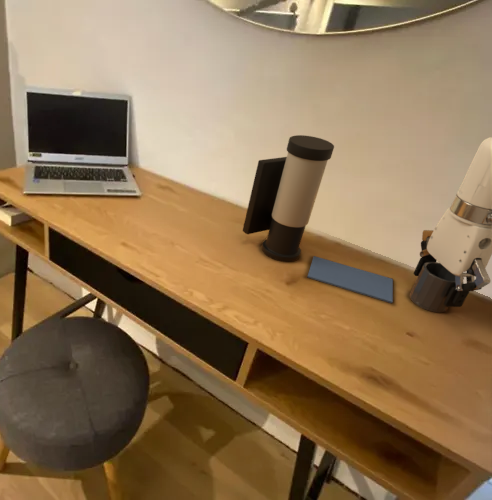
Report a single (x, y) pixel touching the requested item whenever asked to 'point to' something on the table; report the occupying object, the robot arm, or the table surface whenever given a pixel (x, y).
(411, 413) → the table surface
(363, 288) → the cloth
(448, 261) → the robot arm
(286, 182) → the light fixture
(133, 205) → the table surface
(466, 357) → the table surface
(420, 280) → the pot
